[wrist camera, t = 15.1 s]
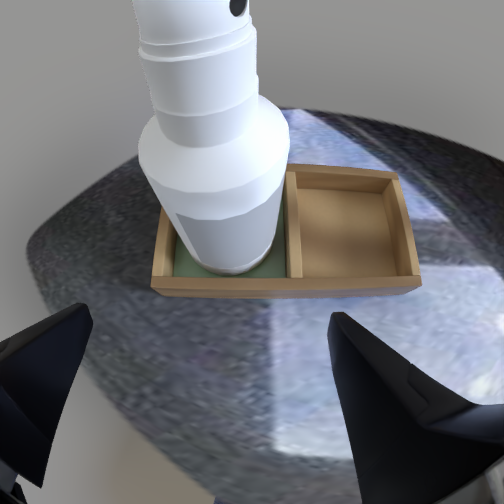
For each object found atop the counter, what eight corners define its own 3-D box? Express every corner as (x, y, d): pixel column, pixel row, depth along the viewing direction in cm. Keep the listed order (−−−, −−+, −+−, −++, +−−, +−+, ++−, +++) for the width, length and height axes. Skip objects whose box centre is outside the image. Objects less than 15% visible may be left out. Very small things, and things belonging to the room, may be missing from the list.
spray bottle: (246, 293, 20) (222, 16, 3) (170, 251, 21) (37, 37, 4) (288, 219, 22) (338, -23, 5) (216, 185, 23) (177, -32, 6)
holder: (404, 294, 20) (422, 285, 17) (163, 296, 20) (150, 287, 17) (384, 189, 24) (396, 172, 21) (177, 184, 24) (169, 165, 21)
